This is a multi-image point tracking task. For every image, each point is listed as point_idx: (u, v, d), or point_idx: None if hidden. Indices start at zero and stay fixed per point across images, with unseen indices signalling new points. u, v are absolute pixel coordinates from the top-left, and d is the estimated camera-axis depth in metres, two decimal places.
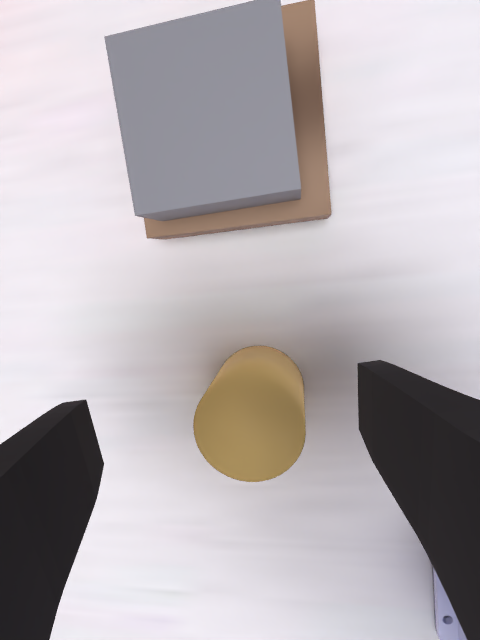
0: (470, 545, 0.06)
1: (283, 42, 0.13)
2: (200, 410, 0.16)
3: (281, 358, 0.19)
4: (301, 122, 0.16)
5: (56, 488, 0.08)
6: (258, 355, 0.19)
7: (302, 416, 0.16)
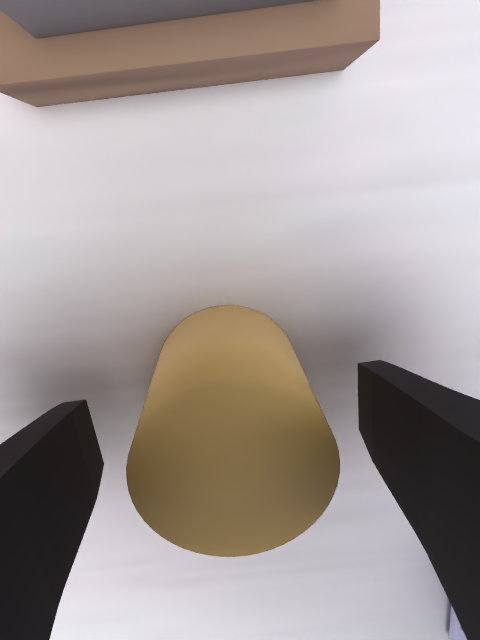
0: (470, 545, 0.06)
1: None
2: (138, 451, 0.08)
3: (267, 326, 0.12)
4: None
5: (56, 488, 0.08)
6: (232, 326, 0.11)
7: (335, 444, 0.09)
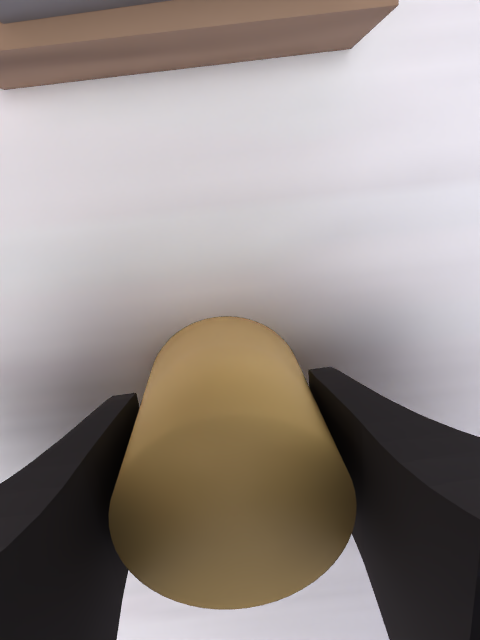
0: (390, 556, 0.06)
1: None
2: (122, 495, 0.07)
3: (270, 341, 0.10)
4: None
5: None
6: (231, 342, 0.10)
7: (351, 484, 0.07)
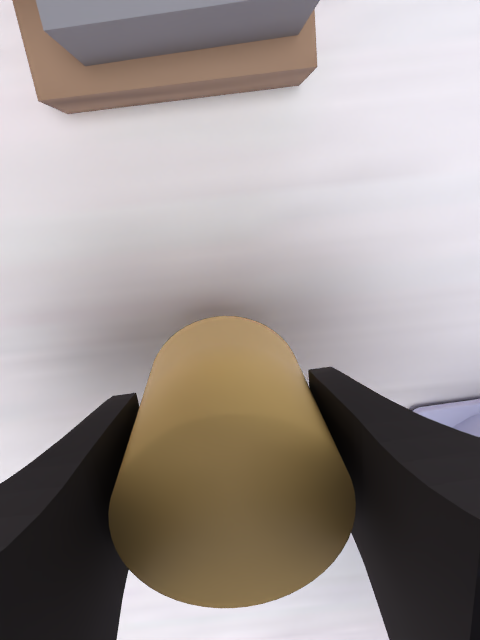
0: (390, 557, 0.06)
1: None
2: (122, 494, 0.07)
3: (270, 341, 0.10)
4: None
5: None
6: (231, 341, 0.10)
7: (350, 483, 0.07)
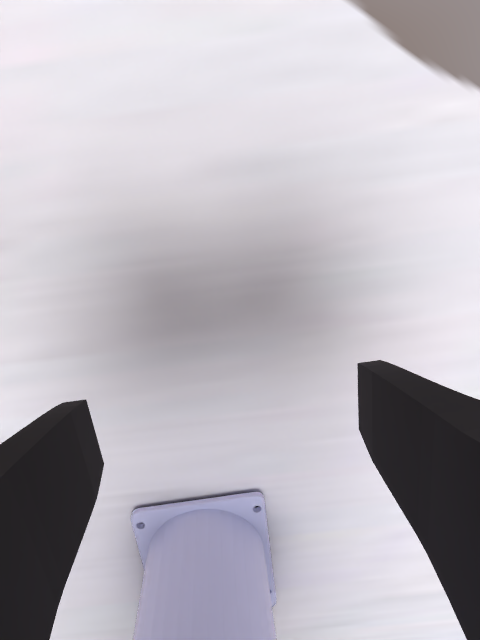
0: (470, 545, 0.06)
1: None
2: None
3: None
4: None
5: (56, 488, 0.08)
6: None
7: None
